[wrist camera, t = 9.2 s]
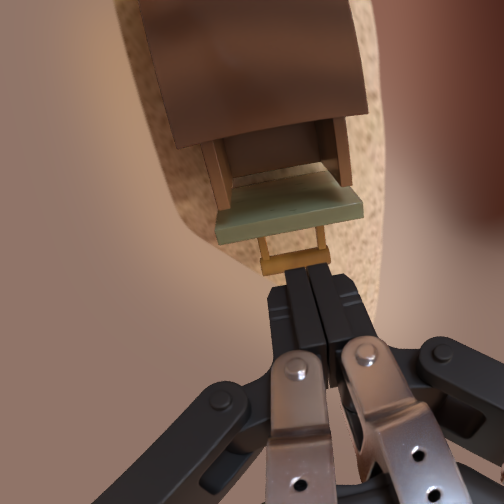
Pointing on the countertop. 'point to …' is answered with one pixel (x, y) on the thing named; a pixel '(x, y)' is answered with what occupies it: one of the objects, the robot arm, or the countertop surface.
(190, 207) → the countertop surface
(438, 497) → the robot arm
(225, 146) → the drawer
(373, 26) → the countertop surface
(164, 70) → the cabinet
